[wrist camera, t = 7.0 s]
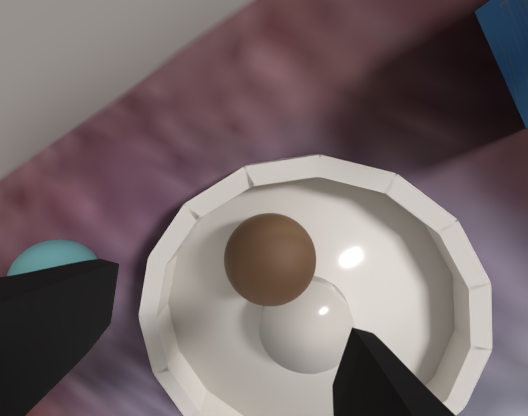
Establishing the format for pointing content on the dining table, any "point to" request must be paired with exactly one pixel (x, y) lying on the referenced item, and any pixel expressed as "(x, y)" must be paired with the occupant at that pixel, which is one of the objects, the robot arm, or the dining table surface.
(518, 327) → the dining table surface
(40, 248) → the teal bead
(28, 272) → the robot arm
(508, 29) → the perfume bottle
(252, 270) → the walnut bead
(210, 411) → the tray
